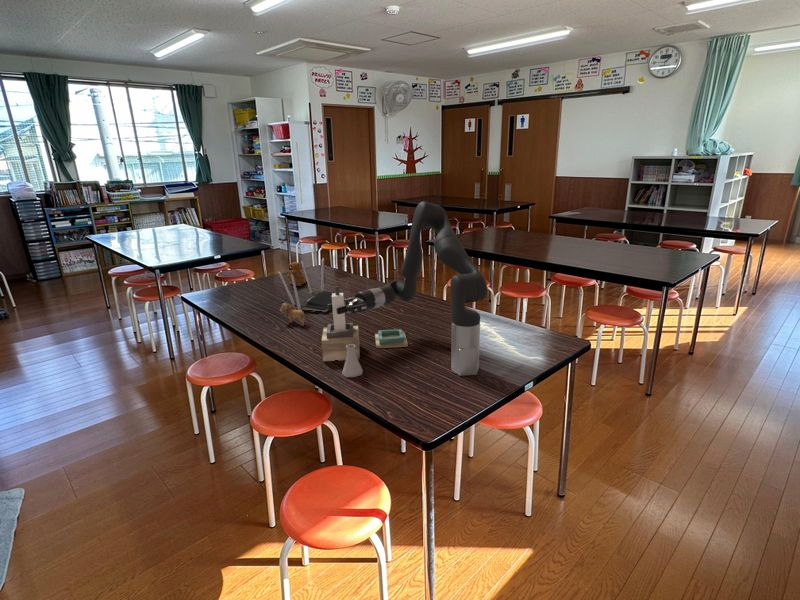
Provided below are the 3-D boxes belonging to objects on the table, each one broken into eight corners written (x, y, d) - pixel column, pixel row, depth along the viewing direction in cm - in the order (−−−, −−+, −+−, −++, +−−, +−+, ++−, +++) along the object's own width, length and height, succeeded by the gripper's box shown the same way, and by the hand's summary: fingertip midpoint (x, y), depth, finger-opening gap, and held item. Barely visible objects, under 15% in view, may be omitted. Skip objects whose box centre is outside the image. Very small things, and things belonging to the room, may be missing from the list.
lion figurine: (279, 323, 198) (277, 304, 195) (286, 319, 203) (284, 301, 200) (307, 327, 193) (305, 308, 190) (314, 323, 197) (312, 304, 194)
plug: (345, 330, 162) (342, 287, 157) (334, 330, 162) (330, 288, 157) (345, 326, 166) (342, 284, 161) (334, 327, 166) (331, 285, 161)
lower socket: (407, 346, 171) (407, 339, 170) (376, 348, 170) (376, 341, 169) (404, 334, 183) (404, 327, 182) (375, 336, 182) (374, 329, 181)
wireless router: (321, 317, 204) (317, 275, 198) (276, 314, 211) (271, 273, 204) (349, 295, 235) (346, 258, 229) (309, 293, 241) (305, 257, 235)
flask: (343, 379, 147) (341, 351, 144) (340, 370, 154) (338, 343, 151) (365, 376, 149) (363, 348, 146) (360, 366, 156) (359, 340, 153)
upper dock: (359, 359, 162) (358, 333, 159) (323, 361, 161) (320, 335, 157) (359, 344, 174) (357, 320, 171) (325, 346, 173) (323, 322, 170)
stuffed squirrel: (308, 281, 264) (305, 259, 260) (304, 288, 251) (301, 265, 247) (290, 282, 264) (288, 260, 260) (286, 289, 251) (283, 266, 247)
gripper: (358, 286, 175) (321, 295, 164) (381, 293, 164) (342, 303, 154) (359, 304, 177) (322, 314, 166) (382, 312, 166) (344, 324, 156)
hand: (332, 309), depth 160 cm, fingers closed on plug, 5 cm apart
